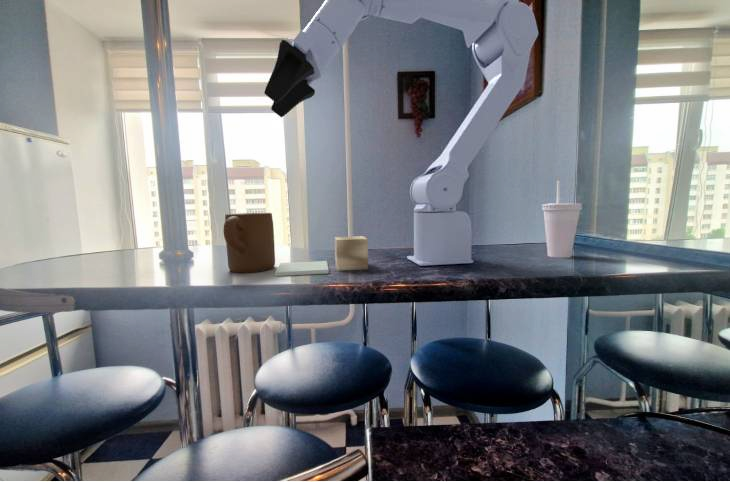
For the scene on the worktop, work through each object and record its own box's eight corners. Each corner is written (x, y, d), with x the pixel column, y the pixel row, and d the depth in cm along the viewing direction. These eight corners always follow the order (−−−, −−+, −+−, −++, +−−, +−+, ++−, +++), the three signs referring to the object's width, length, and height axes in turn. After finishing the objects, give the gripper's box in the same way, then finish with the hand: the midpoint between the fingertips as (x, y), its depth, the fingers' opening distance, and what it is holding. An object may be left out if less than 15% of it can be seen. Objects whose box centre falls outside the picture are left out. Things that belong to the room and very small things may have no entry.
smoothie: (547, 252, 65) (550, 181, 63) (584, 255, 60) (588, 179, 58) (533, 256, 61) (536, 180, 59) (572, 260, 56) (576, 178, 54)
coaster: (326, 264, 58) (326, 260, 57) (328, 273, 50) (328, 269, 50) (280, 266, 56) (280, 263, 56) (275, 276, 48) (274, 272, 48)
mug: (256, 279, 46) (252, 214, 45) (204, 280, 47) (199, 215, 46) (281, 264, 58) (278, 212, 57) (240, 265, 59) (236, 213, 58)
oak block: (363, 264, 58) (362, 236, 57) (368, 269, 53) (367, 238, 52) (335, 265, 57) (334, 237, 56) (337, 271, 52) (336, 240, 51)
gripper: (305, 42, 57) (259, 103, 57) (302, -14, 43) (241, 69, 43) (337, 69, 58) (292, 129, 58) (345, 24, 44) (286, 104, 44)
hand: (273, 106), depth 50 cm, fingers open, 7 cm apart
